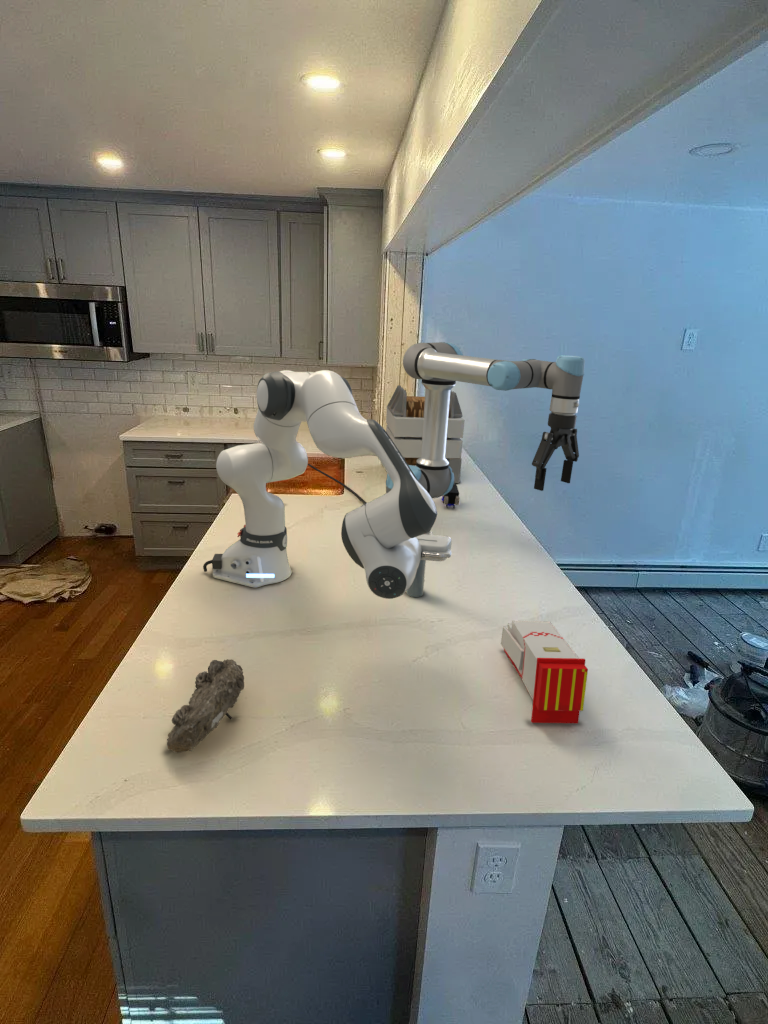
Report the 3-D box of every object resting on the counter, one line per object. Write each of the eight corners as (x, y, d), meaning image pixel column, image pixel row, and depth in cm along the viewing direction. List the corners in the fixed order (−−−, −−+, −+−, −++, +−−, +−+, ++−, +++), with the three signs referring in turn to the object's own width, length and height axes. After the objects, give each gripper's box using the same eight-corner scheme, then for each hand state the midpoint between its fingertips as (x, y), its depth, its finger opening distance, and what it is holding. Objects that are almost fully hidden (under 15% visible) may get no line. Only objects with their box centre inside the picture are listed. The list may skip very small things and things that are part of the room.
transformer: (382, 463, 289) (386, 382, 275) (445, 464, 293) (451, 384, 279) (390, 482, 257) (394, 392, 243) (460, 483, 261) (468, 394, 247)
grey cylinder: (404, 589, 160) (408, 527, 154) (420, 588, 162) (424, 526, 155) (409, 597, 156) (413, 534, 150) (425, 596, 157) (430, 533, 151)
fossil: (192, 660, 117) (244, 628, 112) (224, 691, 120) (276, 661, 115) (142, 746, 98) (202, 712, 93) (182, 779, 101) (242, 748, 96)
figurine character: (459, 513, 226) (454, 497, 240) (461, 496, 223) (456, 481, 236) (442, 513, 226) (439, 497, 239) (444, 496, 222) (440, 480, 236)
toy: (547, 606, 135) (596, 665, 106) (541, 658, 138) (589, 729, 108) (496, 604, 134) (532, 664, 105) (492, 657, 137) (526, 729, 108)
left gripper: (451, 543, 114) (455, 523, 127) (352, 534, 117) (366, 516, 131) (449, 572, 116) (453, 550, 129) (352, 563, 119) (365, 542, 132)
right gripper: (548, 419, 148) (537, 496, 155) (598, 411, 163) (586, 482, 171) (525, 414, 153) (515, 489, 160) (575, 407, 169) (564, 476, 176)
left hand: (408, 533), depth 130 cm, fingers open, 8 cm apart
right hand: (552, 485), depth 166 cm, fingers open, 13 cm apart
